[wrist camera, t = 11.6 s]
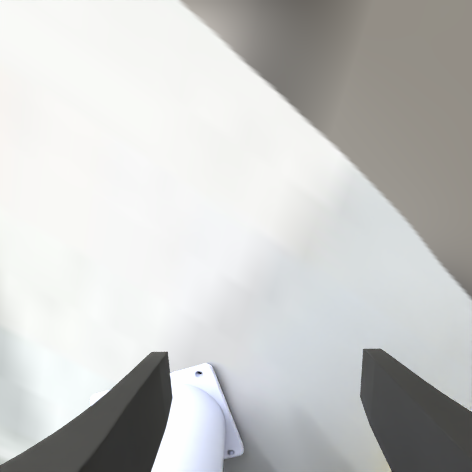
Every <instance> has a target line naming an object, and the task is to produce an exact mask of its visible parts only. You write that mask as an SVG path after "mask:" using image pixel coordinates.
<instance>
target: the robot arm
mask: <svg viewBox="0 0 472 472" xmlns="http://www.w3.org/2000/svg"><path fill="white" fill-rule="evenodd" d="M197 371H200V372H202V374H198V373H197ZM360 398H361V401H362V404H363V407H364V410H365V413H366V415H367V418H368V421H369V424H370V426H371V428H372V431H373V433H374V435H375V437H376V439H377V441H378V443H379V445H380V448H381V450H382V452H383V454H384V456H385V458H386V460H387V462H388V464H389V466H390V468H391V470H392V472H472V412H471V411H469V410H468V409H466V408H464V407H463V406H461V405H460V404H458V403H457V402H455V401H454V400H452V399H451V398H449V397H448V396H446V395H445V394H443V393H442V392H440V391H439V390H437V389H436V388H434V387H433V386H431V385H430V384H429V383H427V382H426V381H424V380H423V379H422V378H420V377H419V376H417V375H416V374H415V373H413V372H412V371H411V370H409V369H408V368H407V367H405V366H404V365H402V364H401V363H400V362H398V361H397V360H396V359H394V358H393V357H392V356H390V355H389V354H388V353H386V352H385V351H383V350H382V349H363V361H362V376H361V392H360ZM90 405H91V406H90V407H89V408H88V409H87V410H85V411H84V412H83V413H81V414H80V415H79V416H77V417H76V418H75V419H73V420H72V421H71V422H69V423H68V424H66V425H65V426H63V427H62V428H61V429H59V430H58V431H56V432H55V433H53V434H52V435H50V436H48V437H47V438H45V439H44V440H42V441H41V442H39V443H37V444H36V445H34V446H33V447H31V448H29V449H28V450H26V451H25V452H23V453H21V454H20V455H18V456H16V457H14V458H13V459H11V460H9V461H7V462H6V463H4V464H2V465H0V472H223V460H224V459H227V458H232V457H236V456H240V455H242V454H243V452H244V445H243V442H242V440H241V437H240V435H239V432H238V430H237V427H236V425H235V422H234V420H233V417H232V415H231V412H230V410H229V407H228V405H227V402H226V399H225V397H224V394H223V392H222V389H221V387H220V384H219V382H218V379H217V377H216V374H215V372H214V369H213V367H212V366H211V365H210V364H207V363H205V364H201V365H197V366H193V367H190V368H186V369H183V370H179V371H175V372H172V373H170V369H169V360H168V352H151V353H150V354H149V355H148V356H147V357H146V358H145V359H143V360H142V361H141V362H140V363H139V364H138V365H137V366H136V367H135V368H134V369H133V370H132V371H131V372H130V373H129V374H127V375H126V376H125V377H124V378H123V379H122V380H121V381H120V382H119V383H118V384H117V385H115V386H114V387H113V388H112V389H110V390H107V391H103V392H99V393H96V394H94V395H93V396H92V397H91V399H90ZM230 450H232V451H230Z"/></svg>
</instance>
